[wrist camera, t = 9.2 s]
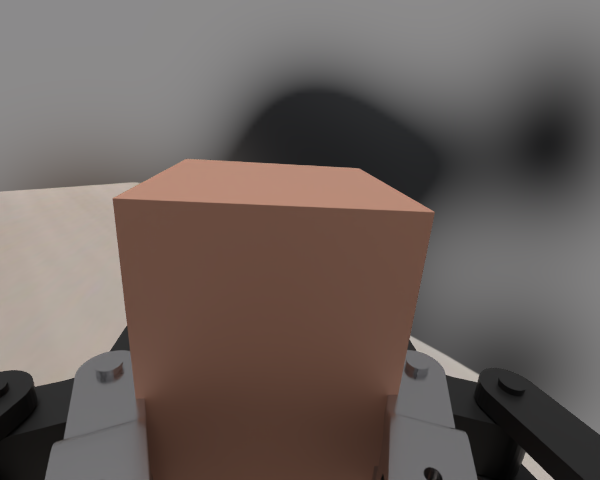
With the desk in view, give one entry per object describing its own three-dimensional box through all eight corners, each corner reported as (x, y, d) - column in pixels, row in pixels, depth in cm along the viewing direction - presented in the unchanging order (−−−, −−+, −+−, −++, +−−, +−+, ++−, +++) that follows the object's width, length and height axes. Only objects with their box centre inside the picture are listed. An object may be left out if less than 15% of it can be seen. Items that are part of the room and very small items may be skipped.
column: (164, 647, 9) (112, 198, 5) (198, 466, 14) (186, 159, 10) (350, 631, 10) (434, 211, 6) (323, 462, 14) (358, 168, 10)
